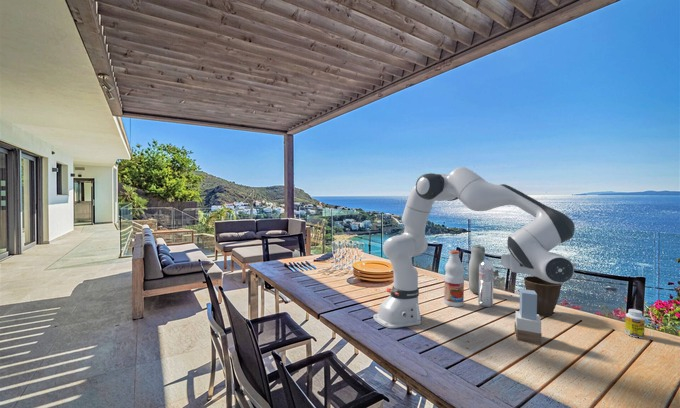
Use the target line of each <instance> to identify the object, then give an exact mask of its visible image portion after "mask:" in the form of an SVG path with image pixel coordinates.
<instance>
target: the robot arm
mask: <svg viewBox="0 0 680 408" xmlns="http://www.w3.org/2000/svg"><path fill="white" fill-rule="evenodd" d="M457 200H459V201H460V202H461V203H462V204H463V205H464V206H466V207H467V208H468V209H470V210H472V211H474V212H486V211H491V210H493V209H497V208H499V207H504V206H515V207H518V208H519V209H521V210H522V211H524V212H525V213H528V214H529V215H530V216H533V217H534V219H532V220H531V221H529V222H528V223H526V224H525V225H524V226H522V227H520V228H519V229H517V230H516V231H514V232H513V233H512V234H510V235H509V236H507V242H506V243H507V249H508V252H509V253H510V254H508V253H507V254H506V253H505V254H502V255H500V257H501V258H500V259H501V260H500V262H501V263H500V264H501V266H502V267H504V268H506V269H509V270H510V271H511V272H512V273H516V274H522V275H523V274H524V275H529V276H536V277H538V278H541V279H542V280H545V281H547V282H550V283H556V284H559V283H562V284H565V283H567V282H569V280H571V279H572V277H573V276H574V272H575V267H577V263H574V262H572V259H571V258H569V257H565V256H563V254H562V255H561V254H559V253H556V252H550V251H551V250H553V249H554V248H556V247H557V246H559V245H560V244H564V243H565V242H567V241H570V240H571V239H573V237H574V233H575V228H576V227H575V225H576V224H575V223H574V221H573V220H572V219H571V218H570V217H569V216H568V215H567V214H565V213H564V212H561V211H559V210H557V209H556V208H555V209H554V208H552V207H550V206H548V205H546V204H544V203H542V202H540V201H538V200H537V199H535V198H534V197H531V196H529V195H527V194H525V193H524V192H522V191H520V190H518V189H516V188H514V187H513V186H510V185H508V184H505V183H504V184H503V183H502V184H494V183H491V182H488V181H487V180H485V179H484V178H483V177H481V175H479V174H478V173H476V172H474V171H473V170H471V169H469V168H467V167H465V166H464V167H463V166H460V167H456V168H455V169H453V170H451V172H450V173H449V174H445V173H432V172H430V173H424V174H422V175H420V176H419V177H418V178H417V180H416V183H415V185H414V186H413V187H412V188H411V191H410V193H409V195H408V197H407V200H406V203H405V206H404V210H403V213H402V216H401V223H402V224H403V226H404V230H403V233H402V234H397V235H393V236H391V237H389V238H387V239H386V240H384V241H383V245H382V252H383V254H384V256H385V257H386V258H387V259H388V260H389V262H390V263H391V267H392V270H393V286H392V287H391V288H390V287H387V288H386V292H387V293H390V294H389V296H387V297H386V298H385V299H384V300H383V302H382V303H380V304H379V307H378V313H375V314H373V316H372V317H373V320H374V321H375V322H376V323H378V324H379V325H380V326H383V327H384V328H388V329H397V328H398V329H399V328H405V327H410V326H417V325H421V320H422V315H421V311H420V307H419V305H420V304H419V296H420V295H419V293H420V290H419V284H418V283H419V278H418V277H419V273H418V272H419V271H418V270H417V269H416V267H415V266H414V265H413V262H412V258H413V257H418V256H420V255H421V254H423V253H425V252H426V251H427V249H428V240H427V237H426V227H427V224H428V220H429V217H430V214H431V210H432V207H433V204H434V203H435V202H437V201H438V202H444V201H445V202H446V201H448V202H452V201H457Z"/></svg>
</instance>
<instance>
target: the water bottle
mask: <svg viewBox="0 0 680 408" xmlns="http://www.w3.org/2000/svg"><path fill="white" fill-rule="evenodd" d="M484 259H485V260H484V261H482V262H481V263H480V264H479V294H478V299H477V300H478V305H479V306H480V307H483V308H492V307H493V306H494V269H495V268H494V267H495V266H494V264H493V263H492V262H491V261H490V260H489V257H487V256H485V257H484Z"/></svg>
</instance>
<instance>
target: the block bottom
mask: <svg viewBox="0 0 680 408" xmlns="http://www.w3.org/2000/svg"><path fill="white" fill-rule="evenodd" d="M514 334H515V336H516V340H517V341H519V342H526V343H531V344H536V345H537V344H538V345H542V332H541V334H540V333H534V332H529V331H523V330H518V329H517V328H516V322H515V321H514Z"/></svg>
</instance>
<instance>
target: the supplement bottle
mask: <svg viewBox="0 0 680 408" xmlns="http://www.w3.org/2000/svg"><path fill="white" fill-rule="evenodd" d="M645 320H646V318H645V316H644V315H643V311H642V310H638V309H635V308H629V309H628V311H627V312H626V313H625V321H624V333H625V334H626V336H629V335H630V337H632V336H633V337H632V338H635V337H639V338H638V339H644V338H645V325H646V324H645V323H646V321H645Z"/></svg>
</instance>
